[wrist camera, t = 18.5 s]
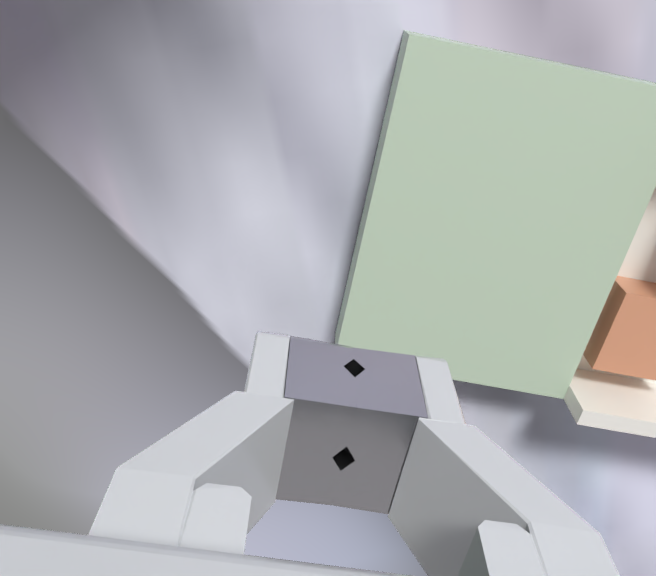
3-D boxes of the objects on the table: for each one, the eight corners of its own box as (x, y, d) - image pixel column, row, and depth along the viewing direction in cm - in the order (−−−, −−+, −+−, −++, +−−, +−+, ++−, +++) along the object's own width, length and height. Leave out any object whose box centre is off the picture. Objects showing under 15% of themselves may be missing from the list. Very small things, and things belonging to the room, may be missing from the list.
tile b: (609, 274, 36) (626, 293, 34) (690, 289, 37) (713, 309, 35) (577, 346, 39) (592, 368, 36) (655, 360, 39) (674, 383, 37)
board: (403, 30, 32) (409, 34, 29) (666, 85, 33) (695, 94, 30) (335, 333, 40) (334, 358, 37) (548, 371, 40) (563, 399, 38)
